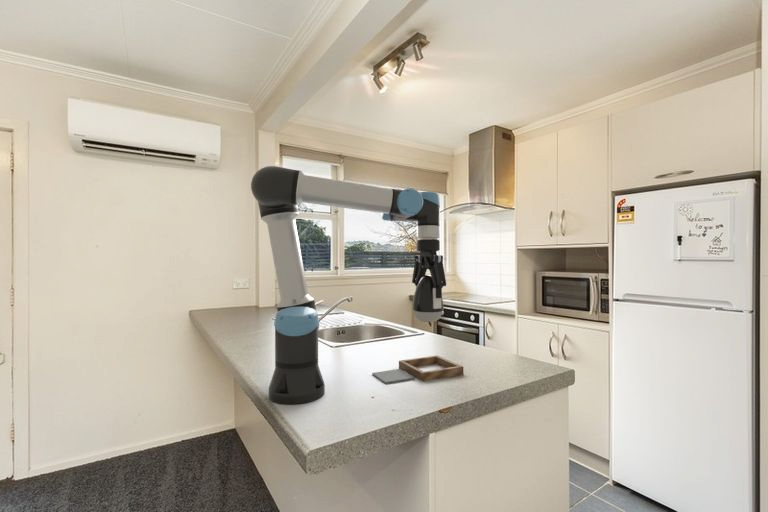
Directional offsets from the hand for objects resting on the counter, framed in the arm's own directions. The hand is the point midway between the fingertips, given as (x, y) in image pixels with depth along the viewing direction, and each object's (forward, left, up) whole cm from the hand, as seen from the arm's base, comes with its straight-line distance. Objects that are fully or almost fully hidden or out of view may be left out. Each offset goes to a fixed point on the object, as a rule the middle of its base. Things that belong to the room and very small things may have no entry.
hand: (428, 306), depth 123 cm
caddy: (+1, 0, -22) cm, 22 cm away
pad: (-13, 0, -22) cm, 25 cm away
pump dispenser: (0, 0, -5) cm, 5 cm away
